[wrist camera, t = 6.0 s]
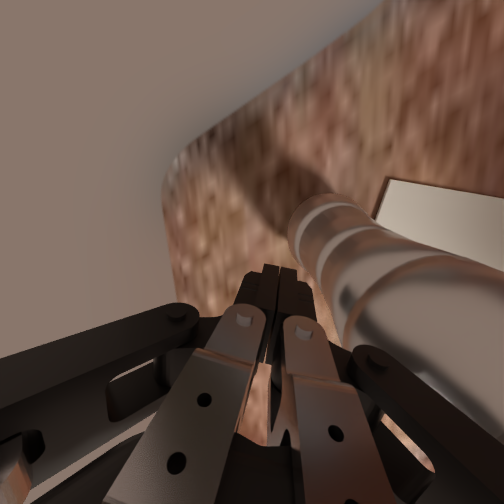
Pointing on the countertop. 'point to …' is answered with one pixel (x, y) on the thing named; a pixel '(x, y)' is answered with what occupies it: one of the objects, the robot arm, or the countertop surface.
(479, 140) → the countertop surface
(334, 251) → the plastic bottle
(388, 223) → the mat
